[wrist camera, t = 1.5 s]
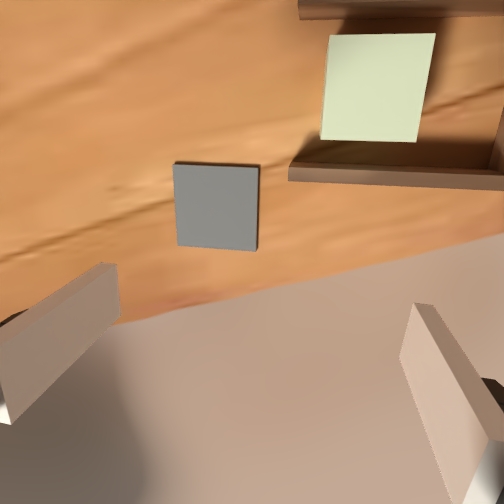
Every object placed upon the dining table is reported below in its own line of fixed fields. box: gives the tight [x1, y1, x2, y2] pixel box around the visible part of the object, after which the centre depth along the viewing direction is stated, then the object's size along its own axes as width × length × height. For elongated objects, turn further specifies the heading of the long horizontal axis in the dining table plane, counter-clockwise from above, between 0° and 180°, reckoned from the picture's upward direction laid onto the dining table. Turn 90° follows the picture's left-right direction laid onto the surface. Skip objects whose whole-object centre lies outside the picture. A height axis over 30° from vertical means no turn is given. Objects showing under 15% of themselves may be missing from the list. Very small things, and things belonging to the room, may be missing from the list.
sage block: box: [319, 33, 436, 142], centre depth 28 cm, size 7×7×7 cm
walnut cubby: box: [288, 0, 504, 191], centre depth 29 cm, size 14×19×4 cm
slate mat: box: [173, 164, 259, 252], centre depth 37 cm, size 9×9×1 cm
